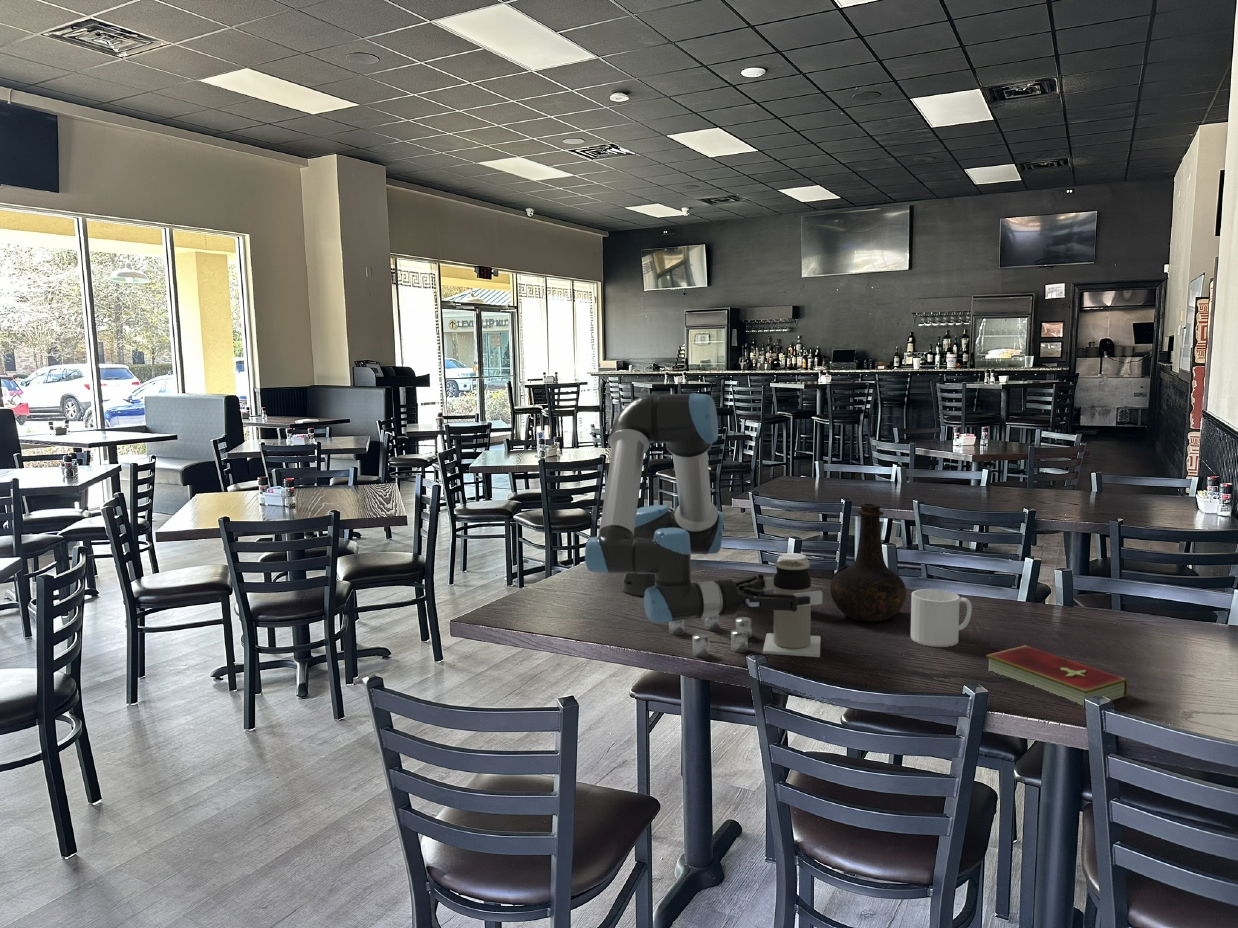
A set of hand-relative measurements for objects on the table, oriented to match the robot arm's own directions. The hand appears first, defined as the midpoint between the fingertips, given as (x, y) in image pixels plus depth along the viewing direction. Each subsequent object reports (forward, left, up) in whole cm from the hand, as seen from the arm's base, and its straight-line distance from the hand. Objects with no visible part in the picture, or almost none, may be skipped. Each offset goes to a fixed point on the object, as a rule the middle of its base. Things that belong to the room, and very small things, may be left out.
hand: (806, 589), depth 181 cm
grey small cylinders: (+2, -22, -13) cm, 25 cm away
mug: (-8, +29, -13) cm, 33 cm away
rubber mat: (+2, -3, -13) cm, 13 cm away
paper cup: (-25, -4, -13) cm, 29 cm away
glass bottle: (-23, +14, -13) cm, 30 cm away
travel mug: (+2, -3, -12) cm, 13 cm away
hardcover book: (+14, +47, -13) cm, 51 cm away
